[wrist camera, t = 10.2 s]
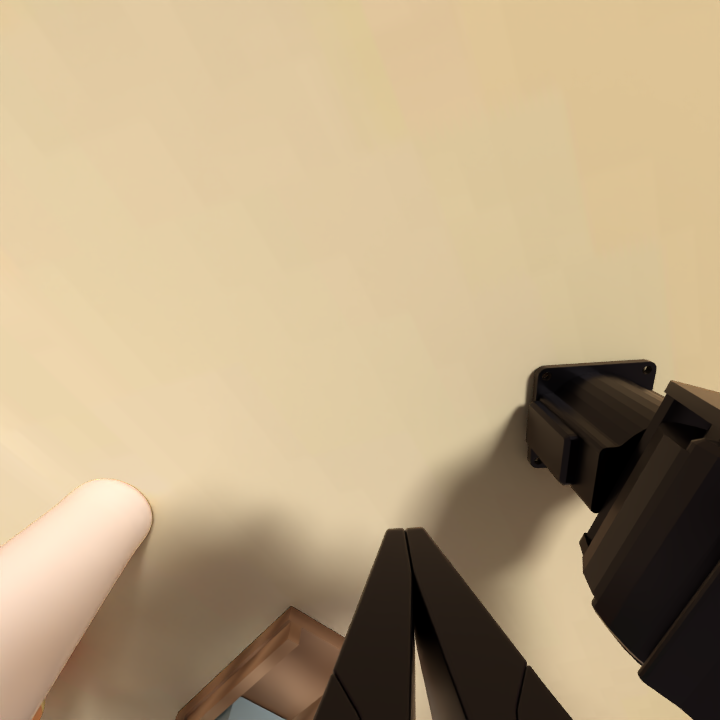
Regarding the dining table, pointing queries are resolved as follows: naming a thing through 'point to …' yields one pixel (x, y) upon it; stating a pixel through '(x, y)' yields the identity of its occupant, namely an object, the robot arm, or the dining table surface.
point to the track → (275, 671)
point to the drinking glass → (61, 585)
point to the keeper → (246, 712)
